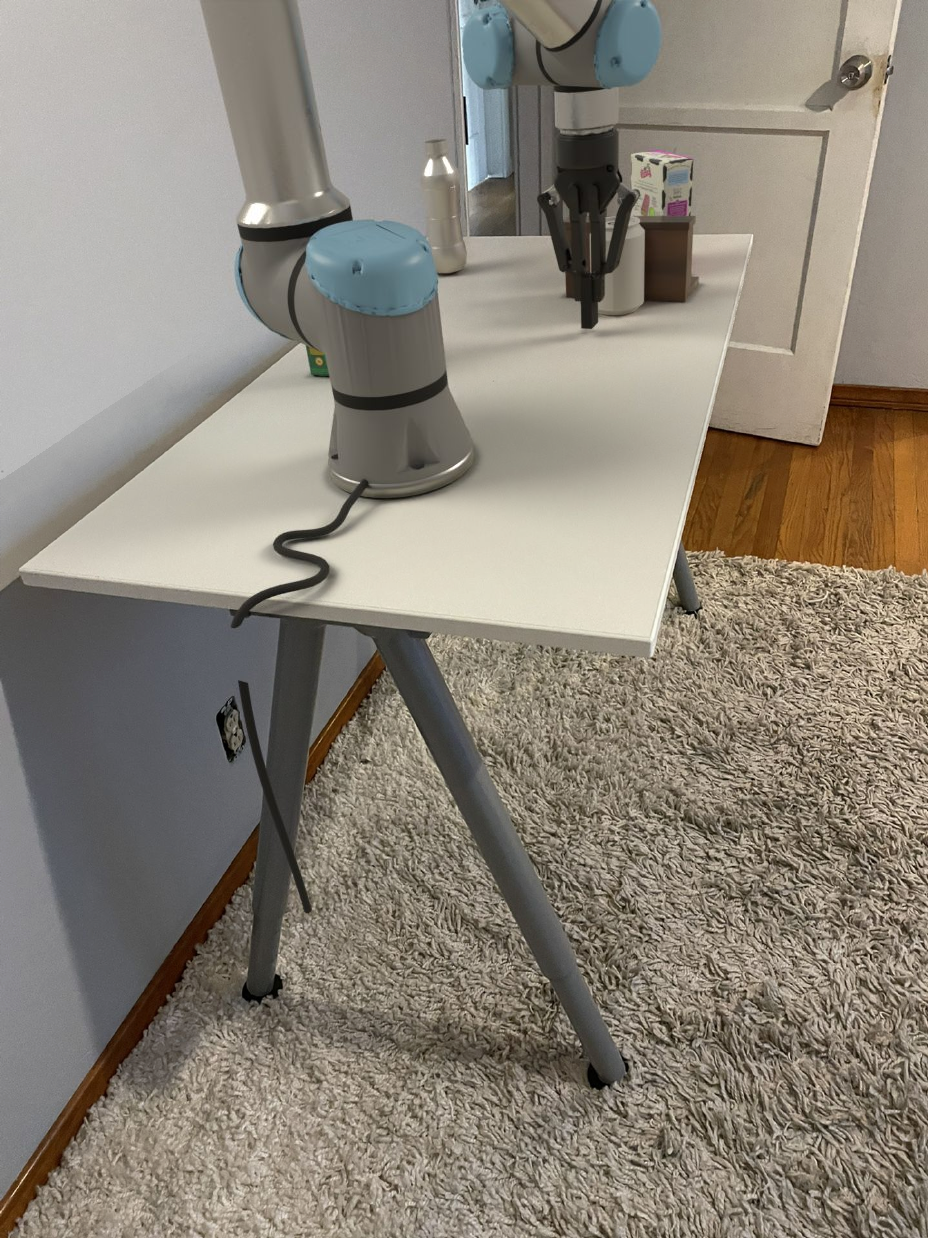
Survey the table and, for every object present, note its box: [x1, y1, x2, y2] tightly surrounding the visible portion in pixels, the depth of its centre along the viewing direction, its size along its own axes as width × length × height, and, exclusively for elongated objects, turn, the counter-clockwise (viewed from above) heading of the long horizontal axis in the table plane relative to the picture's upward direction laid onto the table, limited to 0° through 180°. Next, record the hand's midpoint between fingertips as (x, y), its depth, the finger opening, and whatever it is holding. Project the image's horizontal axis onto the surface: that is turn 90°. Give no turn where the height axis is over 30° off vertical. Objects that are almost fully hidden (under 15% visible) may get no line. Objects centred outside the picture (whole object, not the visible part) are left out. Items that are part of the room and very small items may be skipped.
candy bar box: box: [630, 149, 694, 216], centre depth 139 cm, size 11×5×16 cm, turn 17°
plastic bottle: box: [418, 138, 468, 274], centre depth 149 cm, size 6×7×20 cm
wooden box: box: [563, 215, 700, 303], centre depth 134 cm, size 8×18×11 cm, turn 65°
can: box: [590, 215, 645, 316], centre depth 127 cm, size 8×8×12 cm
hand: (589, 325), depth 123 cm, fingers closed
